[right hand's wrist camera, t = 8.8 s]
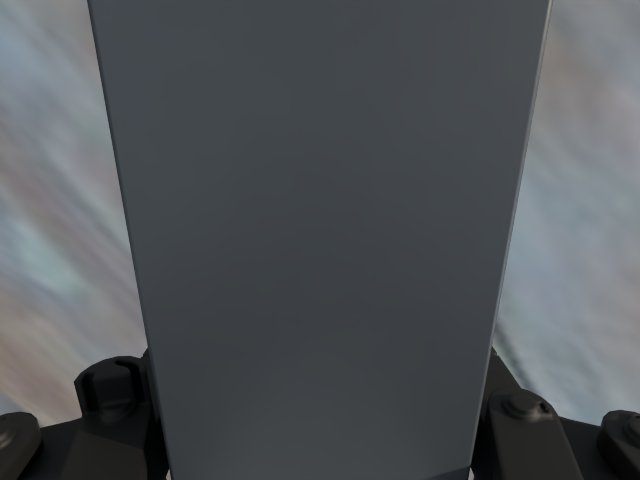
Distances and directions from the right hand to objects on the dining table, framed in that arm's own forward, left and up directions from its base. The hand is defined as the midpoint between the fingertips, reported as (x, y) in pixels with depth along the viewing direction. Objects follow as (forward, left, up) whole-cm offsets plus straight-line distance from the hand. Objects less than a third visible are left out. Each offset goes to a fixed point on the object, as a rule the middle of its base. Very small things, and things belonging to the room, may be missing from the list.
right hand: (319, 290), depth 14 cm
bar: (+7, +4, -1) cm, 8 cm away
